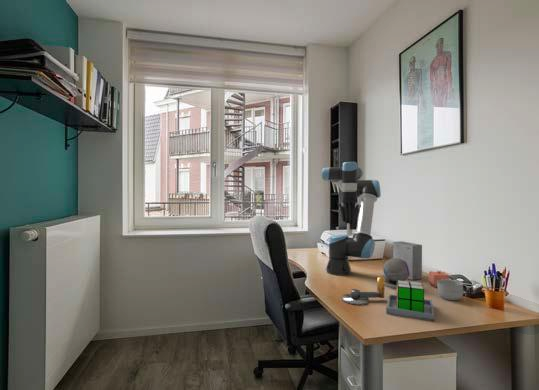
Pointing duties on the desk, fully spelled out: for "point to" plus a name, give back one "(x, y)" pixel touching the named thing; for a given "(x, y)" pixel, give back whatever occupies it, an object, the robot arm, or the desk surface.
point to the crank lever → (378, 294)
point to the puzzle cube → (410, 296)
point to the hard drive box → (410, 257)
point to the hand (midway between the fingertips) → (349, 235)
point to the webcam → (395, 272)
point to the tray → (394, 310)
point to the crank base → (354, 300)
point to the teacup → (450, 289)
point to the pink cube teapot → (437, 277)
